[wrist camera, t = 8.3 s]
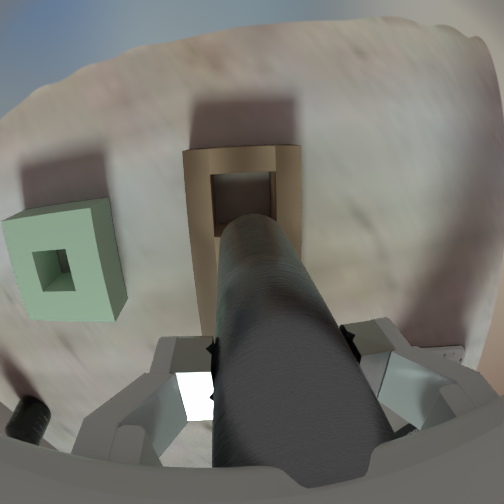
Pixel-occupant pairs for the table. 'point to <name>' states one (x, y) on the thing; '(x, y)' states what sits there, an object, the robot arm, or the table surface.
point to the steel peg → (285, 367)
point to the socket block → (79, 257)
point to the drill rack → (209, 233)
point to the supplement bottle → (28, 421)
